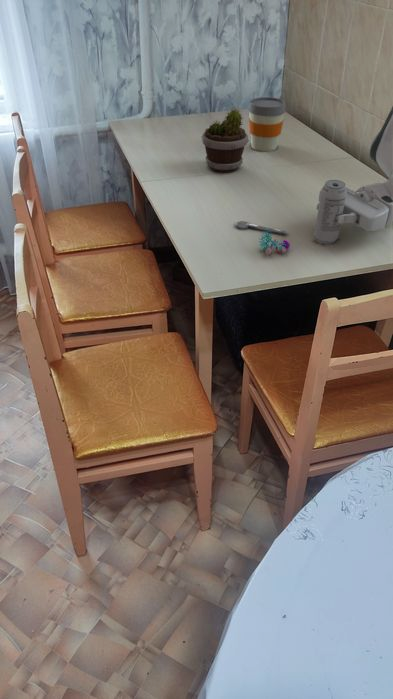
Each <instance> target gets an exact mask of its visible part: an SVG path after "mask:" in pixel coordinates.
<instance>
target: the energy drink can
mask: <svg viewBox="0 0 393 699" xmlns="http://www.w3.org/2000/svg"><path fill="white" fill-rule="evenodd" d="M345 187H346V183H345V182H344V181H342V180H338V179H328V180H326V181H325V182H324V185H323V186H322V187H321V189H322V190H321V189H320V190H321V196H320V202H319V201H318V203H319V209H318V210H317V216H316V223H315V227H314V228H315V229H314V238H315V241H317V242H318V243H320V244H323V245H331V244H334V243H335V242H336V241H337V240H338V239H339V234H340V230H341V224H342V223H338V222H336V221H335V216H336V215H337V214H340V213H342V214H343V208H344V203H345V198H346V193H347V191H346V188H345Z"/></svg>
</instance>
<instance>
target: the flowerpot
mask: <svg viewBox="0 0 393 699" xmlns="http://www.w3.org/2000/svg"><path fill="white" fill-rule="evenodd" d="M243 117H244V114H242V111H240V109H239V107H237V104H236V105H235V106H234V107H232V106H231V108H230V110H228V111H227V114H225V116H224V118H223V119H222V120H221V121H222V122H221V121H219V120H220V119H217V120H216V119H214V121H213V120H212V121H211V123H210V125H209V127H207V128H205V130H204V131H203V133H202V135H201V142H202V144H203V145H204V149H205V154H206V156H205V163H206V165H207V167H208V168H209V169H210V170H211V171H214V172H216V173H232V172H235V171H237V170H239V168H240V167H241V165H243V162H244V161H243V160H244V159H243V153H244V149H245V147H246V146H247V145H248V143H249V141H250V140H249V134H247V133H246V130H245V129H244V128H242V126H243V125H244V123H243Z"/></svg>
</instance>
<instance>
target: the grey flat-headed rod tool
mask: <svg viewBox="0 0 393 699" xmlns="http://www.w3.org/2000/svg"><path fill="white" fill-rule="evenodd" d="M235 224H236V225H235V226H236V228H237V229H239V230H247V229H252V230H253V229H254V230H259V231H263V232H267V231H270V232H271V233H275V234H277V235H278V234H279V235H283V236H285V235H287V230H283V229H278V228H273V227H267V226H262V225H257V224H252V223H249V222H248V221H245V220H241V221H237V222H236V223H235ZM270 232H269V233H270Z"/></svg>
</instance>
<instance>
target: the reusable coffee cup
mask: <svg viewBox="0 0 393 699" xmlns="http://www.w3.org/2000/svg"><path fill="white" fill-rule="evenodd" d="M248 112H249V117H248V131H249V134H250V146H251V148H252V149H253V150H254V151H255V150H256V151H259V152H271V151H274V150H276V149H277V146H278V141H279V137H280V136H281V134H282V130H283V125H284V121H285V120H284V114H285V113H286V101H285V100H283V99H281V98H277V97H269V96H264V97H263V96H261V97H254V98H252V99H251V100H250V101H249V105H248Z"/></svg>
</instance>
